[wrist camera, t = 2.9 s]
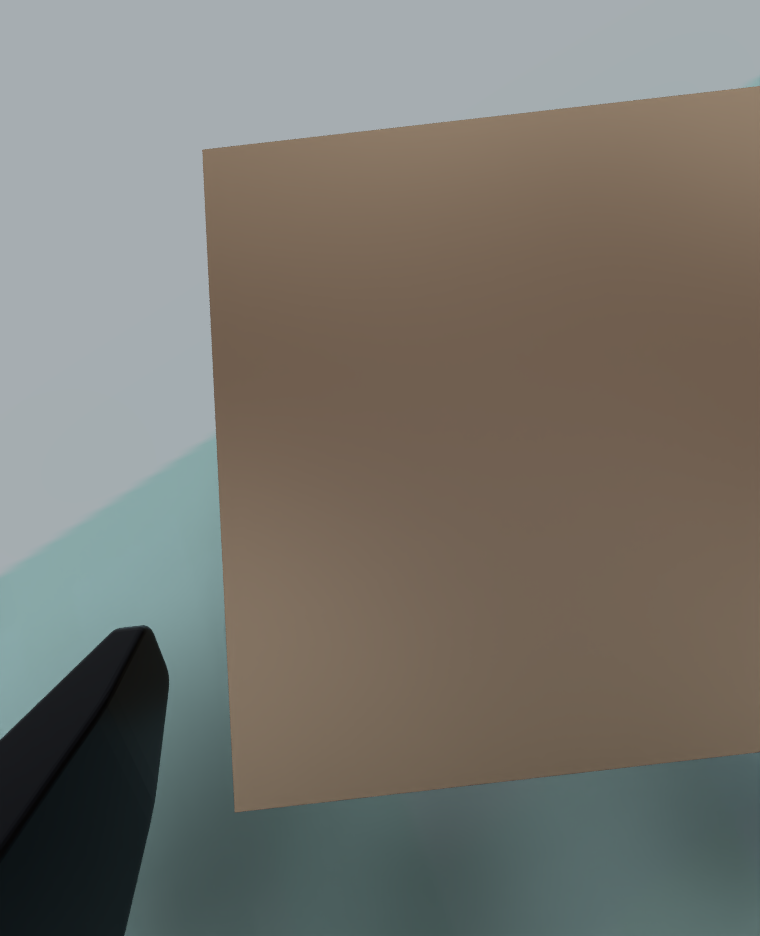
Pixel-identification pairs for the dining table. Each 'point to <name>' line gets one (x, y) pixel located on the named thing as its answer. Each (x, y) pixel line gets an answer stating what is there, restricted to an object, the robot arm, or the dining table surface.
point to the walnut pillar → (489, 446)
